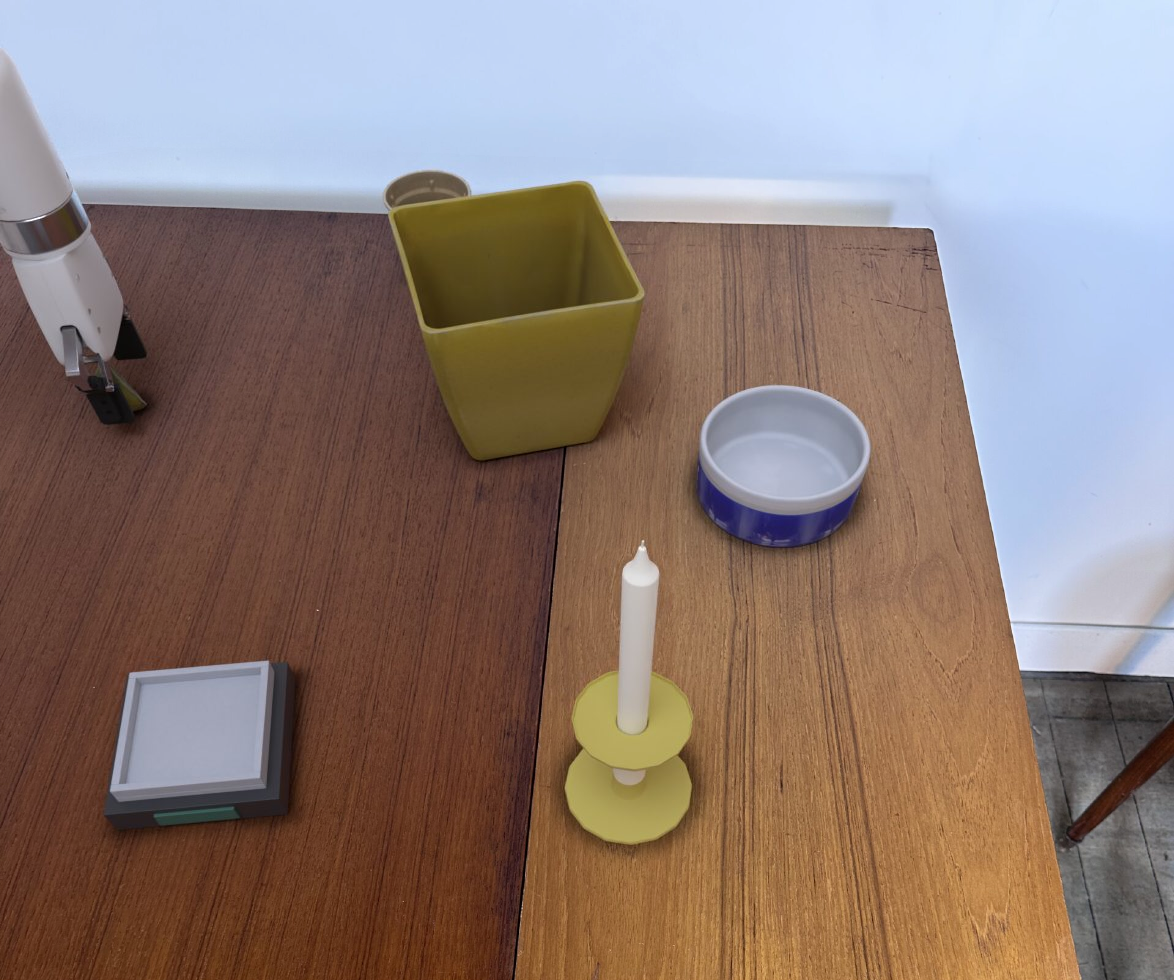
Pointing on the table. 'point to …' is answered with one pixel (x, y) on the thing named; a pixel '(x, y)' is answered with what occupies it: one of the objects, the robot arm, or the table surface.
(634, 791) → the candle
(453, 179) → the flower pot
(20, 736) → the table surface
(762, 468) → the dog bowl
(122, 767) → the scale
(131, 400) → the lime
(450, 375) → the flower pot
